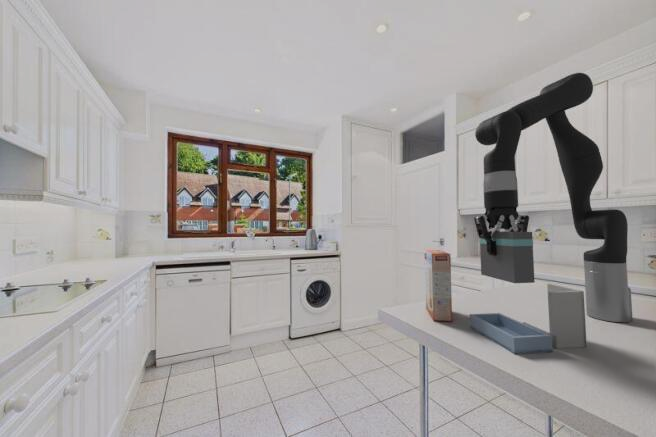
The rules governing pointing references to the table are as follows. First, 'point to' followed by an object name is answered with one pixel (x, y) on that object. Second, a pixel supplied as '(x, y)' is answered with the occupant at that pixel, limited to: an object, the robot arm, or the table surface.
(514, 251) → the teal-striped grey block
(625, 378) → the table surface
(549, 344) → the tray
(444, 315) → the cracker box
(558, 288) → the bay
